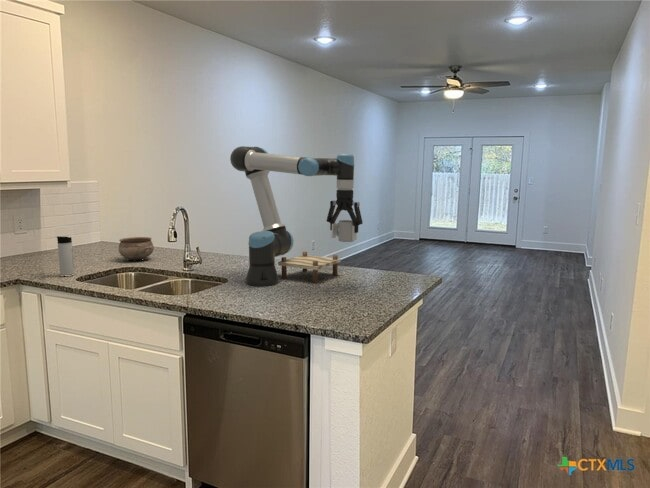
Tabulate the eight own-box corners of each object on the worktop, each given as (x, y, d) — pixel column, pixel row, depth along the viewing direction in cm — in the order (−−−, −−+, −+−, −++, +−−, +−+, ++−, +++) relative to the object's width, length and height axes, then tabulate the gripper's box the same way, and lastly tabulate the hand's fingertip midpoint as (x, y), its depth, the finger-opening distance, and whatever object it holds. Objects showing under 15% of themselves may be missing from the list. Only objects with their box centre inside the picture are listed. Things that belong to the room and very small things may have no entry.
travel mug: (57, 276, 246) (53, 236, 243) (69, 273, 252) (65, 234, 249) (65, 277, 243) (61, 237, 240) (77, 275, 249) (74, 235, 246)
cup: (348, 242, 219) (348, 222, 218) (330, 240, 225) (330, 220, 224) (357, 240, 225) (358, 221, 224) (339, 238, 231) (340, 219, 230)
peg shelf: (316, 283, 230) (316, 262, 228) (278, 278, 241) (278, 257, 240) (340, 274, 248) (340, 255, 247) (303, 270, 260) (303, 251, 258)
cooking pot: (108, 260, 286) (107, 239, 284) (136, 255, 302) (134, 235, 300) (138, 265, 274) (136, 243, 272) (164, 259, 290) (163, 238, 288)
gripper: (371, 190, 219) (370, 240, 222) (327, 187, 230) (327, 235, 234) (363, 190, 212) (362, 242, 216) (319, 188, 224) (318, 237, 228)
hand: (343, 238), depth 225 cm, fingers closed on cup, 10 cm apart
